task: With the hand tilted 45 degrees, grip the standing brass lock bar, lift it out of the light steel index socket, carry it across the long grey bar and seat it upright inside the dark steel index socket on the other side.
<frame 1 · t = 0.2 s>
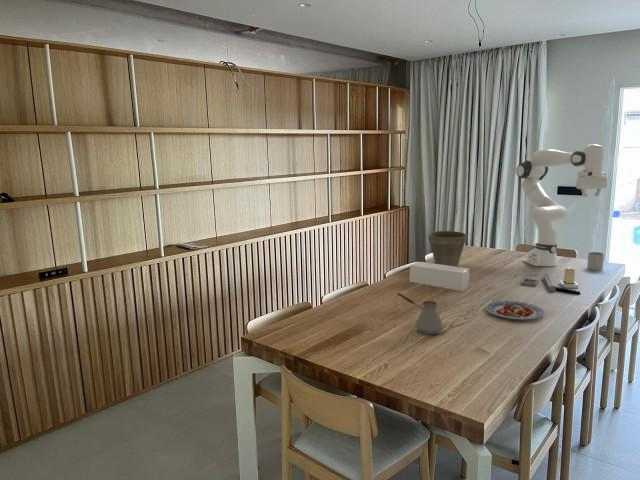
hand: (590, 196, 274), 48 cm above the table, tool pointing down, fingers open, 8 cm apart
ceramic plate: (514, 313, 223), on the table
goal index: (529, 283, 268), on the table
plant pot: (446, 265, 316), on the table
cup: (594, 269, 297), on the table
coffee pot: (418, 329, 206), on the table
white rectangular block: (438, 284, 273), on the table
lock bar: (569, 277, 261), in the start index
long grey bar: (549, 285, 265), on the table
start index: (568, 286, 262), on the table
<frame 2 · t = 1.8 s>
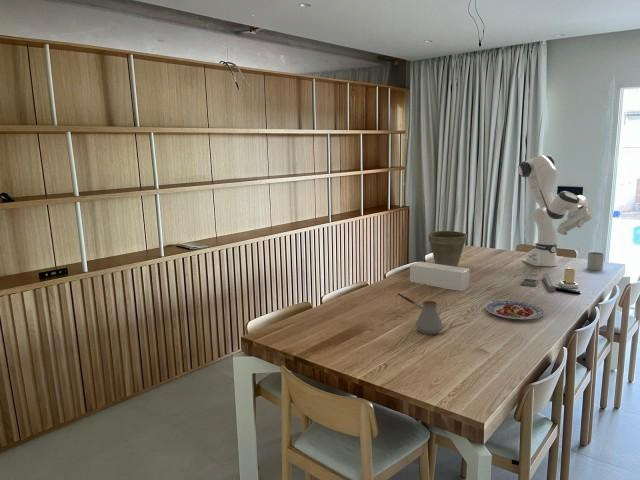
hand: (571, 230, 258), 31 cm above the table, tool tilted 60°, fingers open, 8 cm apart
nothing on the table moved.
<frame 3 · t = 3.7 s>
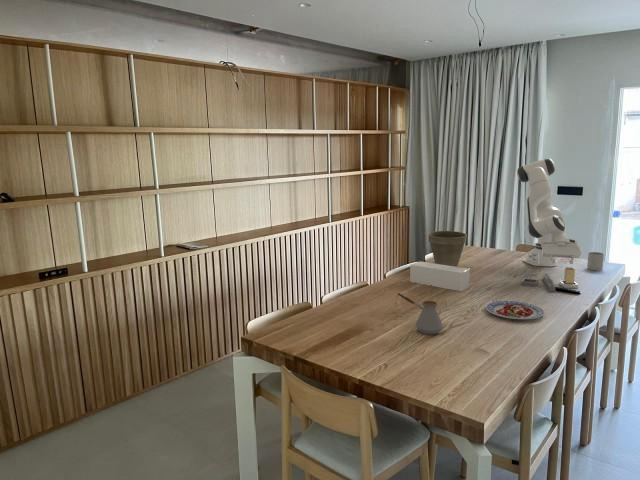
hand: (562, 263, 267), 12 cm above the table, tool tilted 45°, fingers open, 8 cm apart
nothing on the table moved.
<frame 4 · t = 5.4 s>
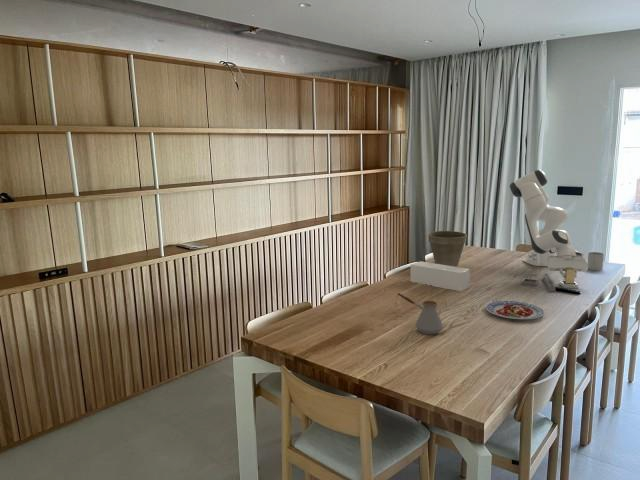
hand: (569, 277, 261), 5 cm above the table, tool tilted 45°, fingers closed on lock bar, 4 cm apart
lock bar: (569, 277, 261), in the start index, touching gripper
everything else where it was.
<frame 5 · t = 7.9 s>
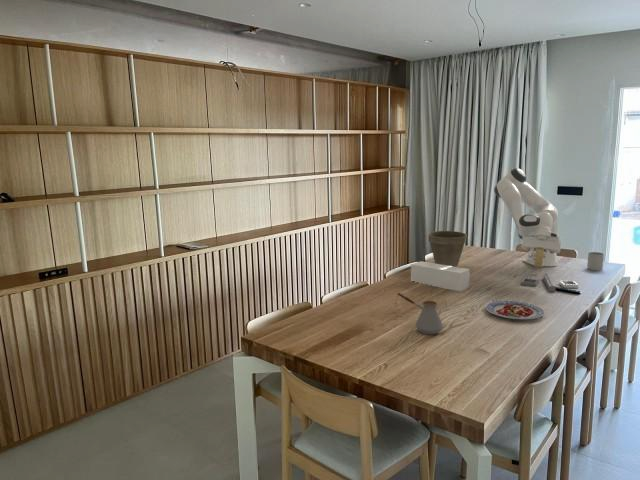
hand: (539, 256, 263), 17 cm above the table, tool tilted 45°, fingers closed on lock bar, 4 cm apart
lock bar: (539, 257, 263), point 16 cm above the table, touching gripper
when the fingers open (7 cm above the table, at t = 10.6 s): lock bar drops 1 cm, resting in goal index.
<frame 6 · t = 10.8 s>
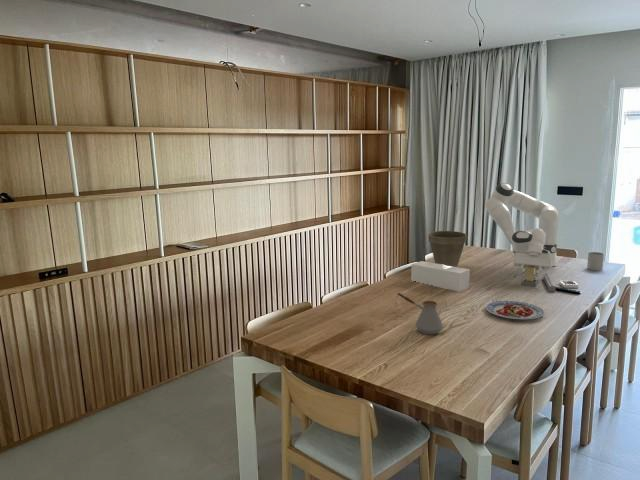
hand: (530, 273, 267), 7 cm above the table, tool tilted 45°, fingers open, 6 cm apart
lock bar: (530, 275, 267), in the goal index
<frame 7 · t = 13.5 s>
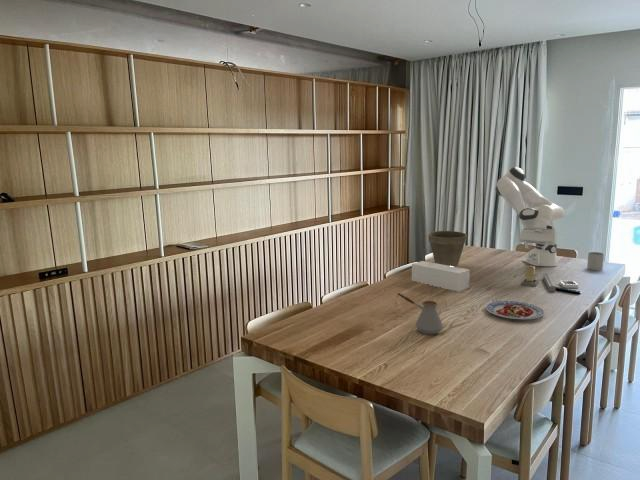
hand: (534, 248, 273), 19 cm above the table, tool tilted 40°, fingers open, 8 cm apart
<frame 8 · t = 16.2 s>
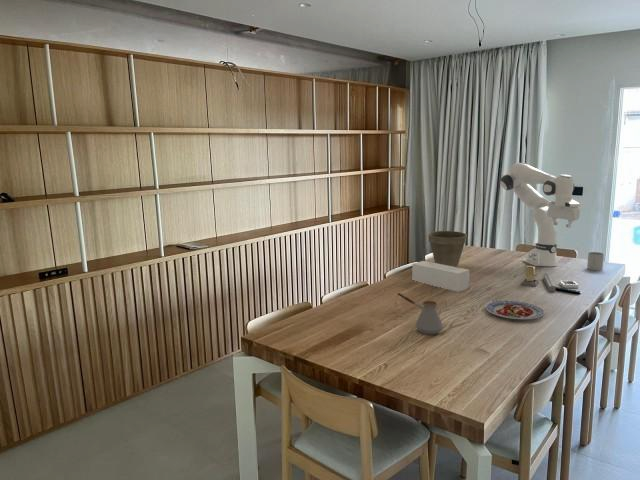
hand: (561, 226, 274), 31 cm above the table, tool pointing down, fingers open, 8 cm apart
at the end: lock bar 0.0 cm off-centre on the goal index, point 5.2 cm above the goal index's base; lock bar tilted 0°; the gripper is holding nothing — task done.
